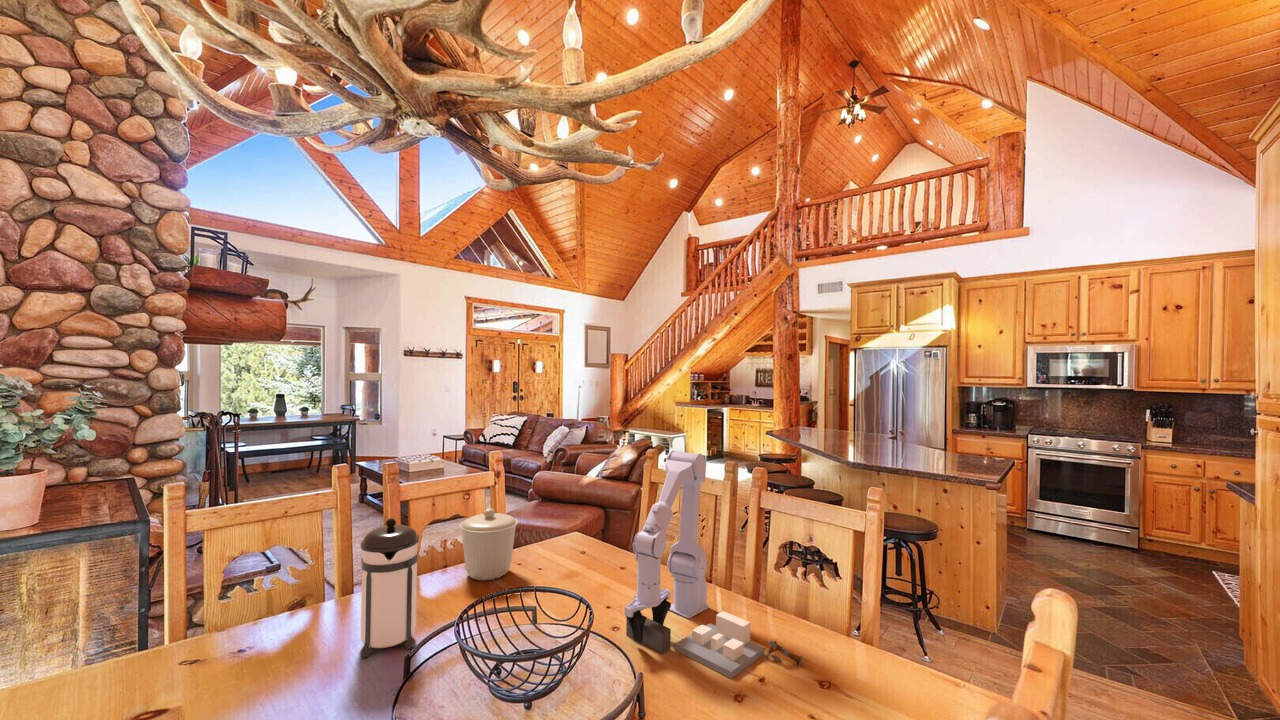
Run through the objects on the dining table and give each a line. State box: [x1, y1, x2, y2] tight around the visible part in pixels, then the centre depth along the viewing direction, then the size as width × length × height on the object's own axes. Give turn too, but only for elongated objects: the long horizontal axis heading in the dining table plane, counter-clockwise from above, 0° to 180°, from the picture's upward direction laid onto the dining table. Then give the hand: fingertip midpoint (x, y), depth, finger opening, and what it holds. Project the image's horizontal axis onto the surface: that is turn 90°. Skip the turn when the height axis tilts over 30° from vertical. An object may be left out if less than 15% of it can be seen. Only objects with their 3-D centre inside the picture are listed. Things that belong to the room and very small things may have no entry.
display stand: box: [674, 610, 766, 679], centre depth 123 cm, size 14×16×6 cm
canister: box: [459, 507, 519, 581], centre depth 166 cm, size 18×18×21 cm
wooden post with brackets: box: [765, 640, 804, 667], centre depth 119 cm, size 2×8×4 cm, turn 75°
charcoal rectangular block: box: [625, 617, 672, 655], centre depth 127 cm, size 3×12×5 cm, turn 46°
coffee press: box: [360, 517, 420, 659], centre depth 126 cm, size 17×16×30 cm
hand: (647, 636), depth 127 cm, fingers open, 6 cm apart
